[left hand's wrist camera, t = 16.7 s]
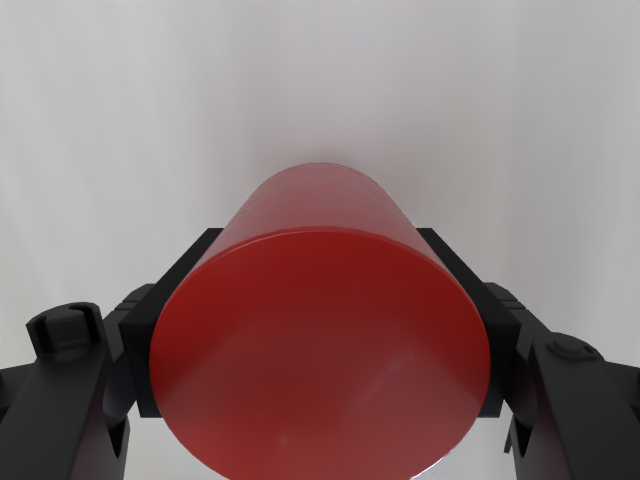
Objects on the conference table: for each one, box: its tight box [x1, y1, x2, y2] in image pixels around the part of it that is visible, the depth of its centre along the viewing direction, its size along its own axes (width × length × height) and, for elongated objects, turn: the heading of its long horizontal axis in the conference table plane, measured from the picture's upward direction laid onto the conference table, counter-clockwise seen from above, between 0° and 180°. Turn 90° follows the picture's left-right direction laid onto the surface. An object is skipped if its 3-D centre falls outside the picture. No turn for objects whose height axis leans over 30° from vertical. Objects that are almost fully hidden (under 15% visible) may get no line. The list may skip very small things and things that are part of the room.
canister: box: [149, 163, 491, 480], centre depth 11 cm, size 7×7×8 cm
